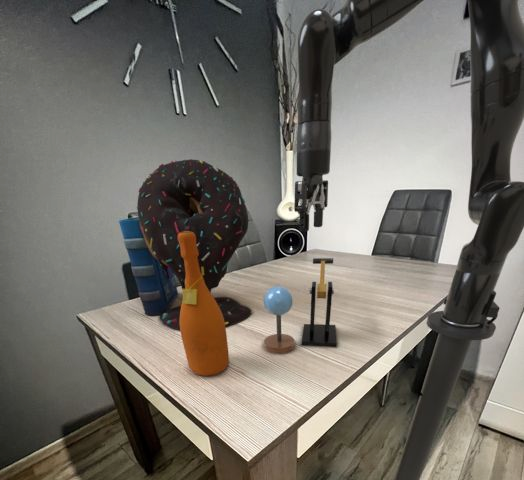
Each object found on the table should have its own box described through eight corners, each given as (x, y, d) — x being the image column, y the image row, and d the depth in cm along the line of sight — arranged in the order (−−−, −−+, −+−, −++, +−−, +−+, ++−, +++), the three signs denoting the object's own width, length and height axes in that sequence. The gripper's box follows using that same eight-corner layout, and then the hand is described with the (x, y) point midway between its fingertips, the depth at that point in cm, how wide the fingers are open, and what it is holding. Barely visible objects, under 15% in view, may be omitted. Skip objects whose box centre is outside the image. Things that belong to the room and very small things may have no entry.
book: (167, 314, 95) (145, 218, 80) (142, 316, 95) (114, 220, 80) (181, 293, 116) (165, 214, 101) (160, 295, 116) (141, 216, 101)
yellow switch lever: (313, 263, 78) (313, 255, 76) (332, 262, 77) (333, 255, 75) (310, 298, 70) (310, 291, 68) (332, 298, 69) (333, 291, 67)
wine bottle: (183, 364, 67) (151, 232, 52) (218, 351, 71) (199, 226, 56) (199, 383, 60) (168, 237, 45) (237, 367, 64) (221, 230, 49)
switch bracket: (304, 327, 81) (305, 278, 74) (335, 328, 80) (339, 278, 72) (301, 345, 72) (302, 291, 65) (336, 347, 70) (341, 291, 63)
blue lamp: (297, 340, 74) (298, 282, 66) (289, 355, 68) (289, 293, 60) (270, 337, 77) (267, 281, 69) (259, 351, 71) (255, 291, 62)
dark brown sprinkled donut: (264, 320, 87) (255, 146, 65) (158, 338, 80) (107, 148, 57) (242, 293, 112) (231, 160, 90) (160, 305, 105) (125, 163, 82)
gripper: (316, 145, 54) (313, 233, 62) (340, 150, 64) (335, 225, 72) (283, 150, 58) (284, 233, 66) (311, 154, 68) (309, 225, 76)
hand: (311, 229), depth 69 cm, fingers open, 8 cm apart
